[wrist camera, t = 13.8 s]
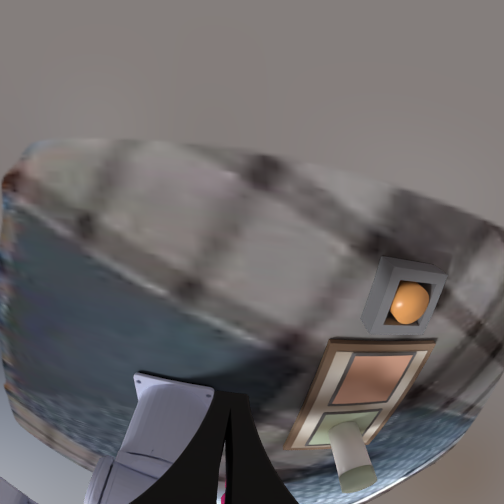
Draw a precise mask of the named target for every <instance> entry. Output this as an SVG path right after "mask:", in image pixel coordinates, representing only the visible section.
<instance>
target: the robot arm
mask: <svg viewBox="0 0 504 504" xmlns="http://www.w3.org/2000/svg"><path fill="white" fill-rule="evenodd" d="M139 380H140V381H139ZM134 381H135V386H136V391H137V396H138V401H139V402H138V404H137V407H136V409H135V412H134V414H133V417H132V419H131V422H130V425H129V427H128V430H127V432H126V435H125V438H124V440H123V443H122V446H121V448H120V450H119V451H118V454H117V456H116V459H115V461H113V458H114V457H111V456H109V455H107V456H106V457H102V458H100V459H99V461H98V463H97V465H96V467H95V470H94V472H93V475H92V477H91V480H90V483H89V486H88V489H87V492H86V495H85V499H84V504H217V503H216V500H217V488H218V477H219V467H220V462H221V457H222V452H223V448H224V443H225V452H226V490H225V501H224V504H299V503H298V502H297V501H296V499H295V498H294V497H293V496H292V494H291V493H290V492H289V490H288V489H287V488H286V486H285V485H284V483H283V482H282V480H281V479H280V477H279V476H278V474H277V472H276V471H275V469H274V467H273V466H272V464H271V462H270V460H269V458H268V456H267V454H266V452H265V449H264V447H263V445H262V443H261V440H260V438H259V435H258V432H257V429H256V427H255V424H254V420H253V417H252V413H251V409H250V404H249V396H248V395H247V394H240V393H232V392H224V391H215V392H214V389H213V388H212V387H207V386H201V385H195V384H189V383H184V382H178V381H173V380H168V379H164V378H159V377H155V376H150V375H146V374H142V373H135V374H134ZM208 394H209V395H208ZM0 504H38V503H36V502H35V501H33V500H31V499H30V498H28V496H26V495H25V494H23V493H22V492H21V491H19V490H18V489H17V488H15V487H13V486H12V485H11V484H9V483H8V482H7V481H6V480H4V479H3V478H2V477H0Z"/></svg>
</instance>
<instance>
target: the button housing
mask: <svg viewBox="0 0 504 504" xmlns="http://www.w3.org/2000/svg"><path fill="white" fill-rule="evenodd" d="M446 278H447V274H446V273H445V272H443V271H442V270H440V269H439V268H438V267H436V266H435V265H433V264H427V263H422V262H416V261H410V260H404V259H398V258H392V257H386V256H381V259H380V262H379V266H378V269H377V272H376V276H375V279H374V282H373V285H372V288H371V291H370V294H369V297H368V300H367V303H366V306H365V308H364V311H363V314H362V317H361V320H362V322H363V324H364V326H365V327H366V329H367V331H368V332H369V334H383V335H423V333H424V331H425V329H426V327H427V325H428V323H429V320H430V318H431V316H432V314H433V311H434V309H435V307H436V304H437V302H438V299H439V297H440V294H441V292H442V289H443V286H444V284H445V281H446ZM400 280H405V281H413V282H420V283H419V285H421V286H422V287H423V288H424V289H425V290H426V291H427V293H428V295H429V303H428V306H427V309H426V311H425V312H424V314H423V315H422V316H421V317H420V318H419V319H418V320H416V321H415V322H412V323H410V324H402V323H400V322H398V321H397V319H396V318H395V317H394V316H393V314H392V313H391V312H389V309H390V307H391V304H392V301H393V299H394V296H395V293H396V290H397V288H398V285H399V282H400Z"/></svg>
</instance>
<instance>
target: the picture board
mask: <svg viewBox="0 0 504 504" xmlns="http://www.w3.org/2000/svg"><path fill="white" fill-rule="evenodd" d="M435 345H436V343H435V342H434V341H433V340H427V341H364V340H339V339H329V341H328V344H327V346H326V349H325V352H324V354H323V357H322V360H321V362H320V365H319V367H318V370H317V372H316V375H315V377H314V380H313V382H312V385H311V387H310V389H309V392H308V394H307V396H306V399H305V401H304V403H303V405H302V408H301V410H300V412H299V414H298V417H297V419H296V421H295V423H294V425H293V427H292V429H291V431H290V433H289V435H288V437H287V439H286V441H285V443H284V445H283V450H314V449H331V444H330V440H329V436H328V432H329V430H330V429H331V428H333V427H334V426H336V425H338V424H340V423H343V422H348V421H353V422H356V423H357V425H358V427H359V430H360V433H361V436H362V439H363V441H364V444H365V445H367V444H369V443H370V442H371V441H372V440H373V438H374V437H375V436H376V435H377V433H378V432H379V431H380V430H381V428H382V427H383V426H384V425H385V423H386V422H387V421H388V419H389V418H390V417H391V415H392V414H393V413H394V411H395V410H396V408H397V407H398V405H399V404H400V403H401V401H402V400H403V398H404V397H405V395H406V394H407V392H408V391H409V389H410V388H411V386H412V384H413V383H414V381H415V380H416V378H417V376H418V375H419V373H420V371H421V370H422V368H423V366H424V365H425V363H426V361H427V359H428V358H429V356H430V354H431V352H432V350H433V348H434V346H435Z"/></svg>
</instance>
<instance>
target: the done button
mask: <svg viewBox="0 0 504 504" xmlns="http://www.w3.org/2000/svg"><path fill="white" fill-rule="evenodd" d="M428 303H429V295H428V293H427V291H426V290H425V289H424V288H423V287H422V286H421V285H419V284H418V283H417V282H413V281H405V280H400V282H399V285H398V288H397V290H396V293H395V296H394V299H393V301H392V304H391V307H390V309H389V310H390V312H391V313H392V314H393V316H394V317H395V318H396V319H397V321H398V322H400V323H402V324H410V323H412V322H415V321H416V320H418V319H419V318H420V317H421V316H422V315H423V314H424V312H425V311H426V309H427V306H428Z"/></svg>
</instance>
